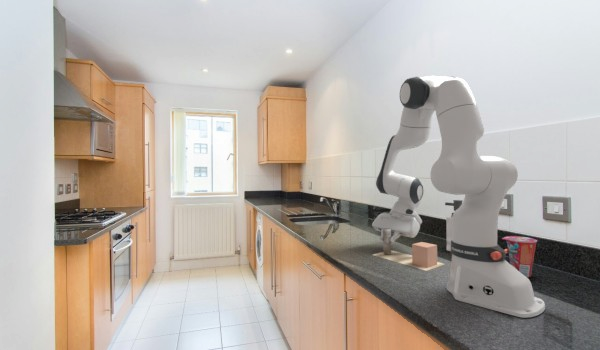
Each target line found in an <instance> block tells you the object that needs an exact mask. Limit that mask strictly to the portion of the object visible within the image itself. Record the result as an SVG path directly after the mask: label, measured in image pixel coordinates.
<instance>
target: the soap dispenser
mask: <svg viewBox="0 0 600 350" xmlns="http://www.w3.org/2000/svg"><path fill="white" fill-rule="evenodd" d="M452 201H453V202H447V201H446V202H444V205H445V206H447V207H448V206H451V207H453V211H454V212H455V211H456V210H457V209H458V208H459V207H460V206H461V205H462V203H463V201H464V199H463V200H460V199H453V200H452ZM454 212H452V213H451V216H446V219H445V220H446V222H445V224H446V227H445V229H446V233H445V235H446V251H448V252H451V240H452V216H453V213H454Z"/></svg>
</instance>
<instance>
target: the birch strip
mask: <svg viewBox="0 0 600 350" xmlns="http://www.w3.org/2000/svg"><path fill="white" fill-rule="evenodd" d="M390 237H392V234H391V229H383V241H382V242H383V245H382V247H383V251H381V252H378V253H373V254H372V256H375V257H377V258H381V259H384V260H389V261H391V262H395V263H398V264H401V265H404V266H405V265H406V266H409V267H412V268H415V269H418V270H422V271H424V272H427V271H431V270H434V269H436V268H439V267H441V266H445V265H446V263H443V262H439V261H437V265H435V266H432V267H429V268H426V267H423V266H419V265H415V264H412V254H408V253H405V252H404V253H403V252H400V251H397V250H392V243H391V242H389V241H388V239H389V238H390Z"/></svg>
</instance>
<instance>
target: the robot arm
mask: <svg viewBox="0 0 600 350" xmlns="http://www.w3.org/2000/svg"><path fill="white" fill-rule="evenodd" d="M399 100H400V103H401V105H402V106H403V108H402V113H401V117H400V123H399V124H400V125H399V128H398V130H397V133H396V134H394V135H392V136H391V138H390V139H389V142H388V143H387V146H386V150H385V154H384V157H383V160H382V164H381V167H380V171H379V173H378V175H377V177H376V182H375V186H376V188H377V190H378V191H379V192H380V193H381V194H384V195H389V196H393V197H396V198H398V199H397V201H396V202H395V203H394V204H393V206H392V208H391V209H390V211H389V212H387V211H385V212H381V213H380V214H378V215H377V216H376V217H375V219H374V221H372V224H371V227H372V228H373V229H374V231H376V232H377V231H378V232H380V237H379V240H380V241H382V242H383V229H391V237H390V238H389V239H388V241H389V242H391V244H393V243H395V241H396V240H397V239H399V238H401V236H403V237H408V238H412V239H413V238H416V236H417V235H418V234H419V231H420V229H421V225H422V223H423V219H422V218H421V216H420V215H419V213H418V212H417V211H416V209H418V208H419V206H420V205H421V202H422V200H423V198H424V194H425V187H424V186H423V184H422V182H421V181H420V179H419V178H418V177H414V176H410V175H408V174H407V175H405V174H402V173H397V172H395V171H394V167H395V164H396V161H397V157H398V155H399V153H400V152H401V151H405V150H411V149H415V148H418V147H420V146H422V145H424V144H425V143H426V142H427V141H428V139H429V136H430V132H431V129H432V121H433V114H434V112H435V114H436V119H437V123H438V128H439V132H440V137H441V150H440V154H439V157H438V159H437V160H436V161H435V162H434V163H433V165H432V166H431V170H430V174H429V175H430V181H431V184H432V186H433V187H434V188H435V189H436V190H437V191H438V192H440V193H445V194H450V195H456V196H457V195H458V196H459V195H463V196H464V198H463V202H462V205H461V206H460V207H459V208H458V209H457V210H456V211H454V212H452V213H453V216H452V240H451V251H450V259H451V265H450V271H449V272H450V273H449V278H448V281H447V284H446V286H445V288H446V290H447V291H448V292H449V293H451V294H452V296H453V298H454V300H456V301H459V302H463V303H466V304H471V305H474V306H477V307H481V308H484V309H488V310H490V311H491V310H492V311H496V312H499V313H504V314H507V315H510V316H515V317H518V318H527V319H528V318H534V317H537V316H539V315H541V314H542V313H543V312H545V310H546V304H545V303H546V302H545V301H544V300H543V299H542V298H539V297H536V296H535V294H534V289H533V286H532V282H531V280H530V279H529V277H526V276H524V275H523V274H522V273H520V272H519V271H518V270H517V269H516V268H514V267H513V266H512V265H511V264H510V262H508V261H507V260H506V255H507V254H509V252H508V248H505V249H503V248H502V247H501V246H500V245H499V244H498V228H499V226H498V224H499V215H500V211H501V207H502V205H503V201H504V199H505V197H506V196H507V193H508V192H509V191H510V189H511V188H513V187H514V186H515V184H516V183H517V180H518V177H519V176H518V175H519V174H518V169H517V166H516V165H515V163H513V162H512V161H510V160H509V159H506V158H503V157H500V156H496V155H478V151H477V143H478V141H479V140H480V139H481V138H482V137H483V136H484V134H485V133H484V132H485V128H484V124H483V122H482V117H481V114H480V112H479V108H478V107H479V106H478V104H477V102H476V99H475V96H474V95H473V92H472V90H471V89H470V86H469V85H468V83H467V82H466V81H465V80H464V79H462V78H460V77H457V76H450V77H449V76H441V75H440V76H438V75H437V76H436V75H426V76H413V77H409V78H406V79H405V80H404V81H403V83H402V84H401V85H400V89H399Z"/></svg>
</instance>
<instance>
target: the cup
mask: <svg viewBox="0 0 600 350" xmlns="http://www.w3.org/2000/svg"><path fill="white" fill-rule="evenodd" d="M501 239H502V240H506V245H507V249H508V250H507V252H508V256H509V264H511V265H512V266H513V267H514V268H516V269H517V270H518V271H519V272H520V273H522V274H523V275H524V276H526V277H527V278H531V277H532V272H533V266H534V265H533V264H534V259H535V258H534V257H535V252H536V247H537V246H536V245H537V243H538V239H535V238H532V237H526V236H520V235H519V236H518V235H510V236H509V235H507V236H504V237H502V238H501Z"/></svg>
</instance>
